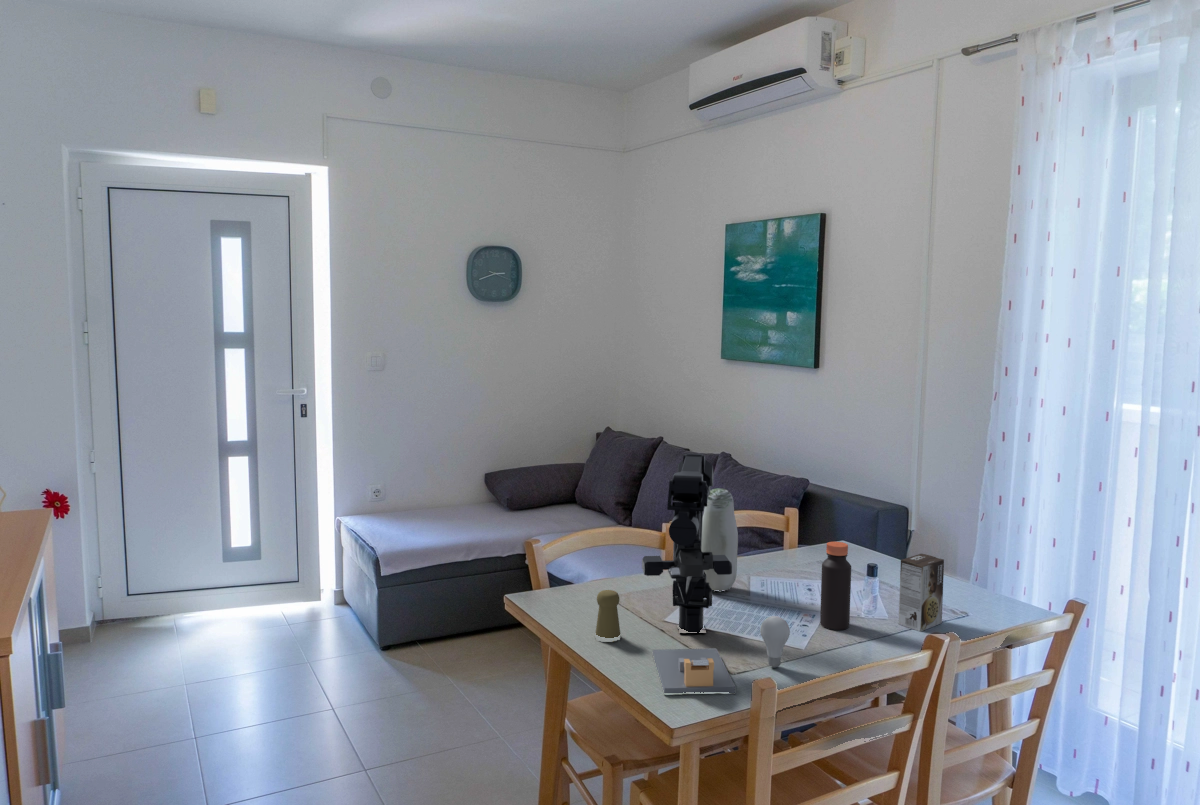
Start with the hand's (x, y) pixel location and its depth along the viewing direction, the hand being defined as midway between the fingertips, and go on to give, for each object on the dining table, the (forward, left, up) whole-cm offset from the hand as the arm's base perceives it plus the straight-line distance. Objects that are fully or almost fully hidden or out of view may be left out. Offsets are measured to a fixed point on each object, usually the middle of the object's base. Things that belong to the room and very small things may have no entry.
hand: (685, 603), depth 178 cm
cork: (-12, -16, -12) cm, 23 cm away
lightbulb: (+6, +18, -12) cm, 23 cm away
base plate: (+8, 0, -12) cm, 15 cm away
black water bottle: (-17, +39, -12) cm, 44 cm away
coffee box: (-17, +60, -12) cm, 64 cm away
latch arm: (+14, 0, -8) cm, 16 cm away
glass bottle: (-44, +16, -12) cm, 48 cm away
